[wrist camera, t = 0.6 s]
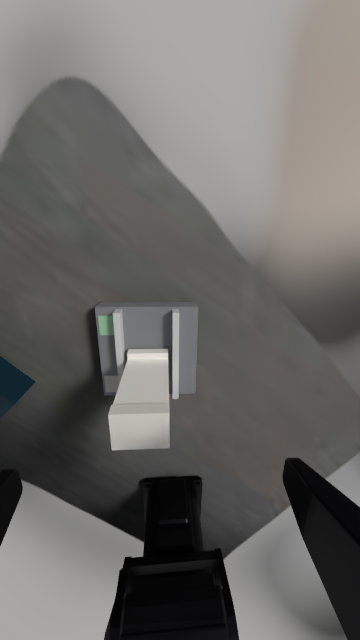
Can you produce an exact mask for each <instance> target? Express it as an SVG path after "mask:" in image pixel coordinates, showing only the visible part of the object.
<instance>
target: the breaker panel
mask: <svg viewBox="0 0 360 640" xmlns="http://www.w3.org/2000/svg"><path fill="white" fill-rule="evenodd" d="M95 314H96V324H97V333H98V342H99V352H100V361H101V370H102V380H103V389H104V396H107V395H116V393H117V390H118V387H119V384H120V381H121V378H122V375H123V372H124V369H125V366H126V362H127V353H128V350H129V349H168V372H169V394H172V397H173V399H179V394H183V393H195V386H196V358H197V330H198V305H197V303H196V302H100V303H99V304H98V305H96V306H95Z"/></svg>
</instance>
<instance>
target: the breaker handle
mask: <svg viewBox="0 0 360 640" xmlns="http://www.w3.org/2000/svg"><path fill="white" fill-rule="evenodd" d="M108 418H109V427H110V437H111V447H112V450H134V449H160V448H170V434H169V372H168V349H129V350H128V353H127V362H126V366H125V369H124V372H123V375H122V378H121V381H120V384H119V387H118V390H117V393H116V396H115V400H114V403H113V405H111V408H110V411H109V414H108Z"/></svg>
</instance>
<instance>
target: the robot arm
mask: <svg viewBox="0 0 360 640" xmlns="http://www.w3.org/2000/svg"><path fill="white" fill-rule="evenodd" d="M283 483H284V486H285V489H286V492H287V495H288V498H289V500H290V503H291V506H292V509H293V512H294V514H295V518H296V520H297V524H298V526H299V529H300V532H301V535H302V537H303V540H304V542H305V544H306V547H307V549H308V551H309V553H310V556H311V558H312V560H313V562H314V565H315V567H316V569H317V572H318V574H319V576H320V578H321V581H322V583H323V585H324V587H325V590H326V592H327V594H328V596H329V599H330V601H331V603H332V605H333V608H334V610H335V612H336V615H337V617H338V619H339V621H340V623H341V626H342V628H343V630H344V633H345V635H346V637H347V639H348V640H360V507H359V506H358V505H356V504H355V503H354V502H353V501H351V500H350V499H349V498H348V497H346V496H345V495H344V494H343V493H341V492H340V491H339V490H338V489H337V488H335V487H334V486H333V485H332V484H330V483H329V482H328V481H327V480H325V479H324V478H323V477H322V476H321V475H319V474H318V473H317V472H316V471H314V470H313V469H312V468H311V467H309V466H308V465H307V464H306V463H304V462H303V461H302V460H301V459H299V458H287V459H286V460H285V465H284V470H283ZM142 487H143V506H144V521H145V522H146V525H145V539H144V553H143V557H136V558H131V557H125V560H124V565H123V568H122V569H121V570H120V572H119V579H118V586H117V593H116V597H115V602H114V605H113V608H112V612H111V616H110V619H109V622H108V625H107V629H106V632H105V638H104V640H239V636H238V629H237V623H236V617H235V611H234V606H233V601H232V597H231V592H230V588H229V584H228V579H227V575H226V570H225V567H224V562H223V557H222V553H221V549H220V548H218V549H215V550H211V551H204V547H203V539H202V530H201V522H200V514H201V496H202V479H201V477H198V476H197V477H175V478H154V479H145V480H144V481H143V485H142ZM22 488H23V487H22V482H21V478H20V474H19V470H18V469H16V468H12V469H3V470H1V471H0V546H1V543H2V541H3V538H4V536H5V534H6V531H7V528H8V526H9V524H10V521H11V519H12V516H13V514H14V512H15V509H16V507H17V504H18V502H19V499H20V497H21V494H22Z"/></svg>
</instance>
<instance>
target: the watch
mask: <svg viewBox="0 0 360 640" xmlns="http://www.w3.org/2000/svg"><path fill="white" fill-rule="evenodd" d="M34 383H35V381H34V380H32V379H31V378H29V377H28V376H27V375H25V374H24V373H23V372H21V371H20V370H19V369H17V368H16V367H14V366H13V365H12V364H10V363H9V362H8V361H6V360H5V359H3V358H2V357H1V356H0V418H1V417H2V416H3V415H4V414H5V413H6V412H7V411H8V410H9V409H10V408H11V407H12V406H13V405H14V404H15V403H16V402H17V401H18V400H19V399H20V398H21V397H22V396H23V394H24V393H25V392H26V391H27V390H28V389H29V388H30V387H31V386H32V385H33V384H34Z"/></svg>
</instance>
